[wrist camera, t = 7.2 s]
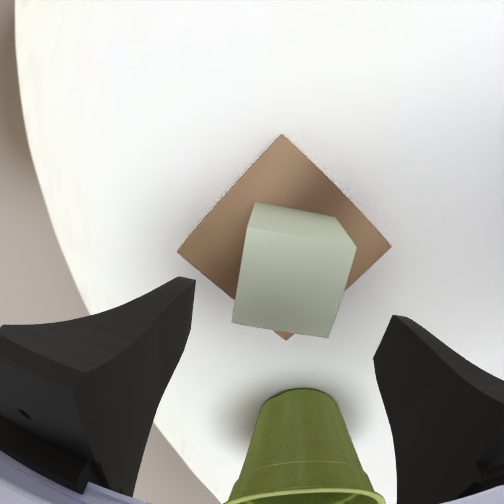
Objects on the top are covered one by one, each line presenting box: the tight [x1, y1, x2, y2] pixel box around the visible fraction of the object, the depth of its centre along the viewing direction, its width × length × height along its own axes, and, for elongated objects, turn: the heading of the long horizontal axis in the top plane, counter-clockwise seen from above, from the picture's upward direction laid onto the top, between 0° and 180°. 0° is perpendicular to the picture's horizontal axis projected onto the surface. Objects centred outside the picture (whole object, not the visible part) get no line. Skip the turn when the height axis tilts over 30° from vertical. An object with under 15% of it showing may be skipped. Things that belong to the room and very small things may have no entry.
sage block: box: [232, 202, 357, 338], centre depth 16 cm, size 4×4×5 cm
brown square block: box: [177, 134, 392, 340], centre depth 19 cm, size 9×9×3 cm
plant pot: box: [224, 389, 386, 504], centre depth 21 cm, size 12×12×11 cm
